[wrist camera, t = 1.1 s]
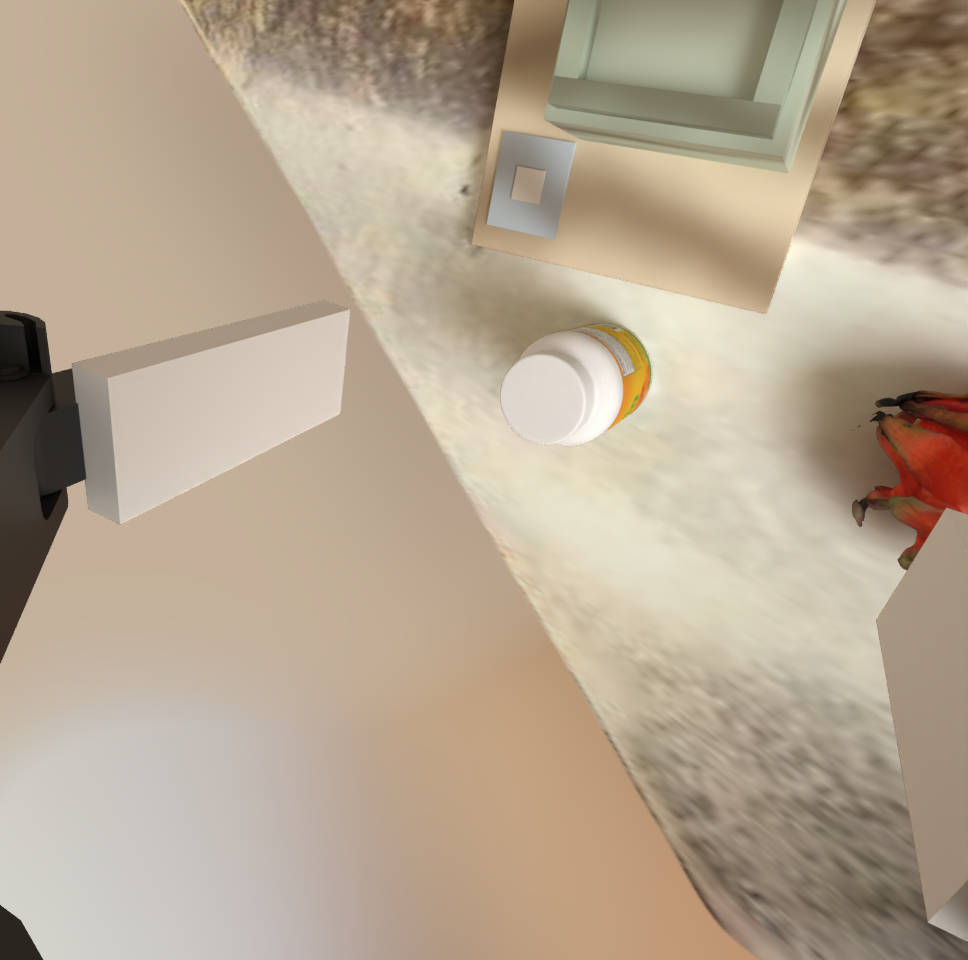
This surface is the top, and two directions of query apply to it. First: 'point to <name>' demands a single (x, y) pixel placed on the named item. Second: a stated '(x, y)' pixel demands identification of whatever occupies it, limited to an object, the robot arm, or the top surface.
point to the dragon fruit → (922, 462)
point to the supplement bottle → (576, 384)
